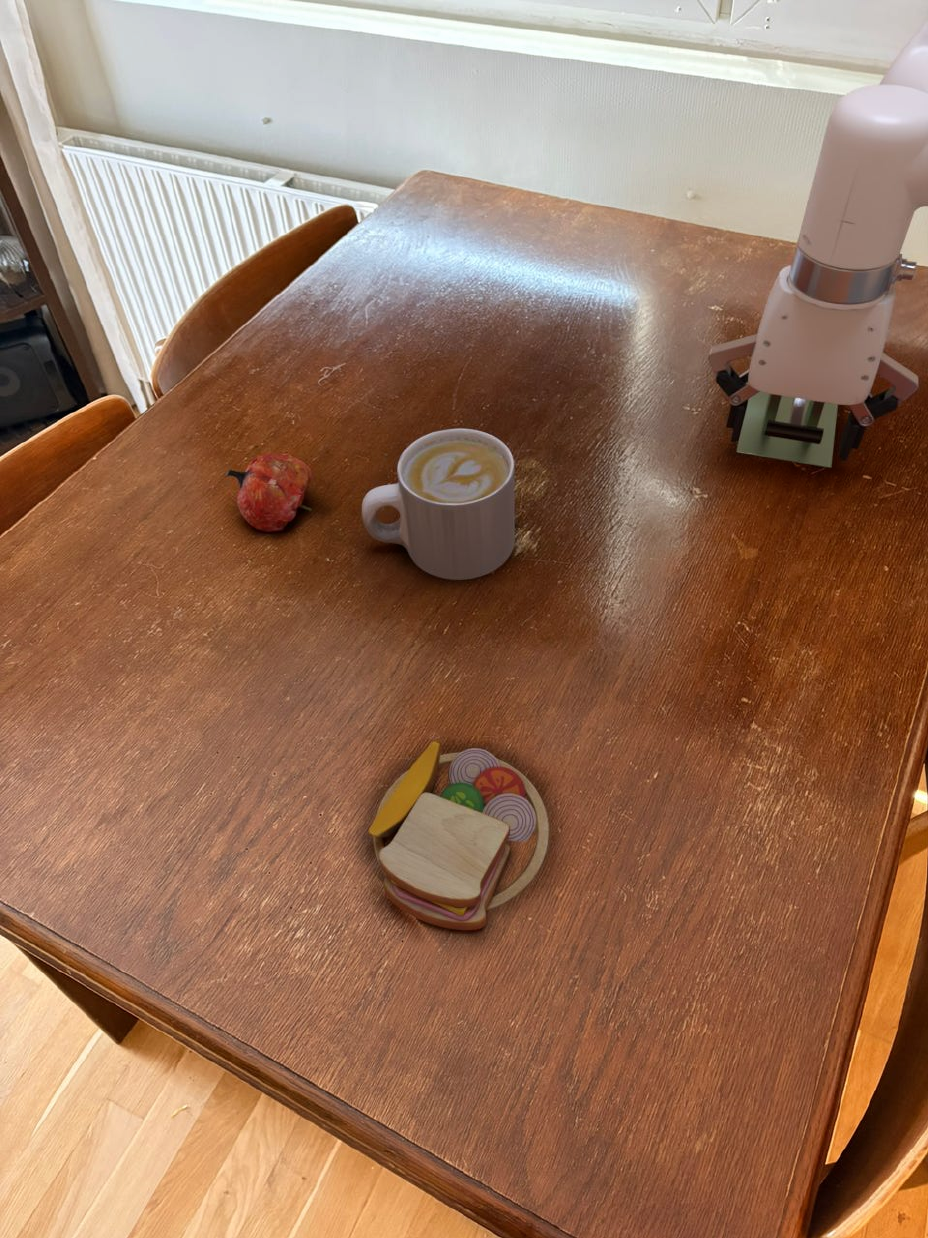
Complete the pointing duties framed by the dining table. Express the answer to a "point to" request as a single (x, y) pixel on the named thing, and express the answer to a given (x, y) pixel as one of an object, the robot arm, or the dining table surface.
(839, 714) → the dining table surface
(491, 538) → the coffee mug
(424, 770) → the toy sandwich meal
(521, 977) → the dining table surface
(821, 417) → the bracket
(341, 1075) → the dining table surface
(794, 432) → the lever
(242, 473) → the pomegranate
